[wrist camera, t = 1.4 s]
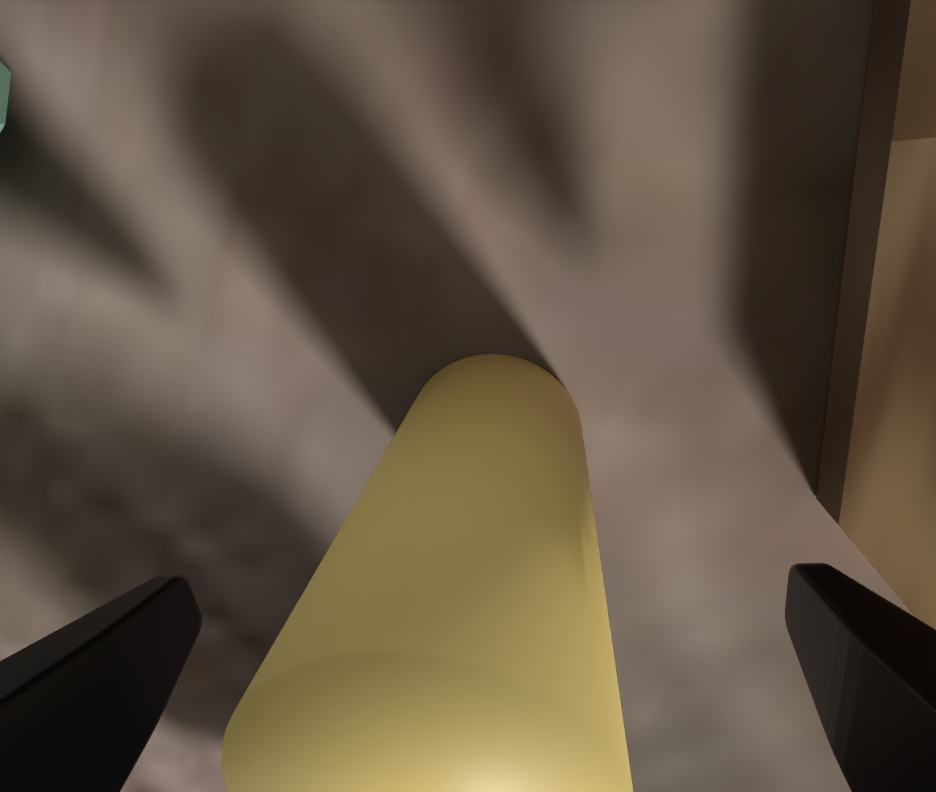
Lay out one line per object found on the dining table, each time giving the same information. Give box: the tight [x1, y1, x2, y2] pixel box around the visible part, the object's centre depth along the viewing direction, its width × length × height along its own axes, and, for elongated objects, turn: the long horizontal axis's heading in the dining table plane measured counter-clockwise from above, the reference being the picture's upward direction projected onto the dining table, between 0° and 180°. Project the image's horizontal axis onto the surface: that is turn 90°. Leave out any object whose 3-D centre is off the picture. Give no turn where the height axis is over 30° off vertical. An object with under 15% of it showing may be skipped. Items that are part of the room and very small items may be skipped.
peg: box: [222, 354, 633, 792], centre depth 9 cm, size 4×4×8 cm
